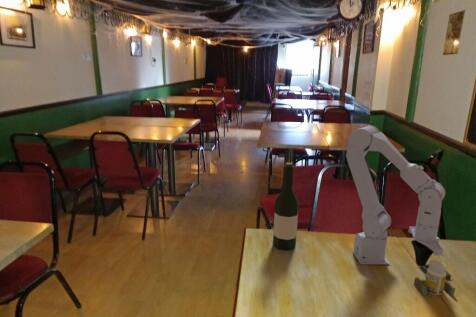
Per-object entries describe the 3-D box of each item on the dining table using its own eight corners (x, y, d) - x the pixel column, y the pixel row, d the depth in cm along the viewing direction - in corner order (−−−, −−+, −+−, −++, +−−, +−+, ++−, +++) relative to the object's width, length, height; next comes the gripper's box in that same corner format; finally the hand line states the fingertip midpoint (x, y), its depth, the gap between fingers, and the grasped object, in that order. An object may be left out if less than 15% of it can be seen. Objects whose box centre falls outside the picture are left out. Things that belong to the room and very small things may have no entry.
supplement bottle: (438, 286, 99) (443, 260, 97) (446, 296, 95) (451, 269, 93) (421, 284, 100) (425, 259, 98) (428, 294, 95) (432, 268, 93)
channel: (423, 295, 95) (424, 288, 94) (413, 284, 100) (415, 277, 99) (453, 295, 95) (455, 288, 94) (442, 284, 100) (444, 277, 99)
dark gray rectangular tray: (430, 278, 103) (431, 275, 102) (419, 267, 109) (420, 264, 108) (450, 278, 103) (450, 275, 103) (438, 267, 109) (438, 264, 108)
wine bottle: (270, 239, 125) (274, 160, 117) (292, 238, 126) (297, 160, 118) (275, 251, 117) (279, 167, 109) (299, 250, 118) (305, 166, 110)
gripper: (456, 234, 94) (448, 278, 97) (426, 213, 108) (420, 252, 111) (431, 234, 93) (424, 278, 97) (404, 213, 107) (399, 252, 111)
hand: (420, 264), depth 104 cm, fingers closed
